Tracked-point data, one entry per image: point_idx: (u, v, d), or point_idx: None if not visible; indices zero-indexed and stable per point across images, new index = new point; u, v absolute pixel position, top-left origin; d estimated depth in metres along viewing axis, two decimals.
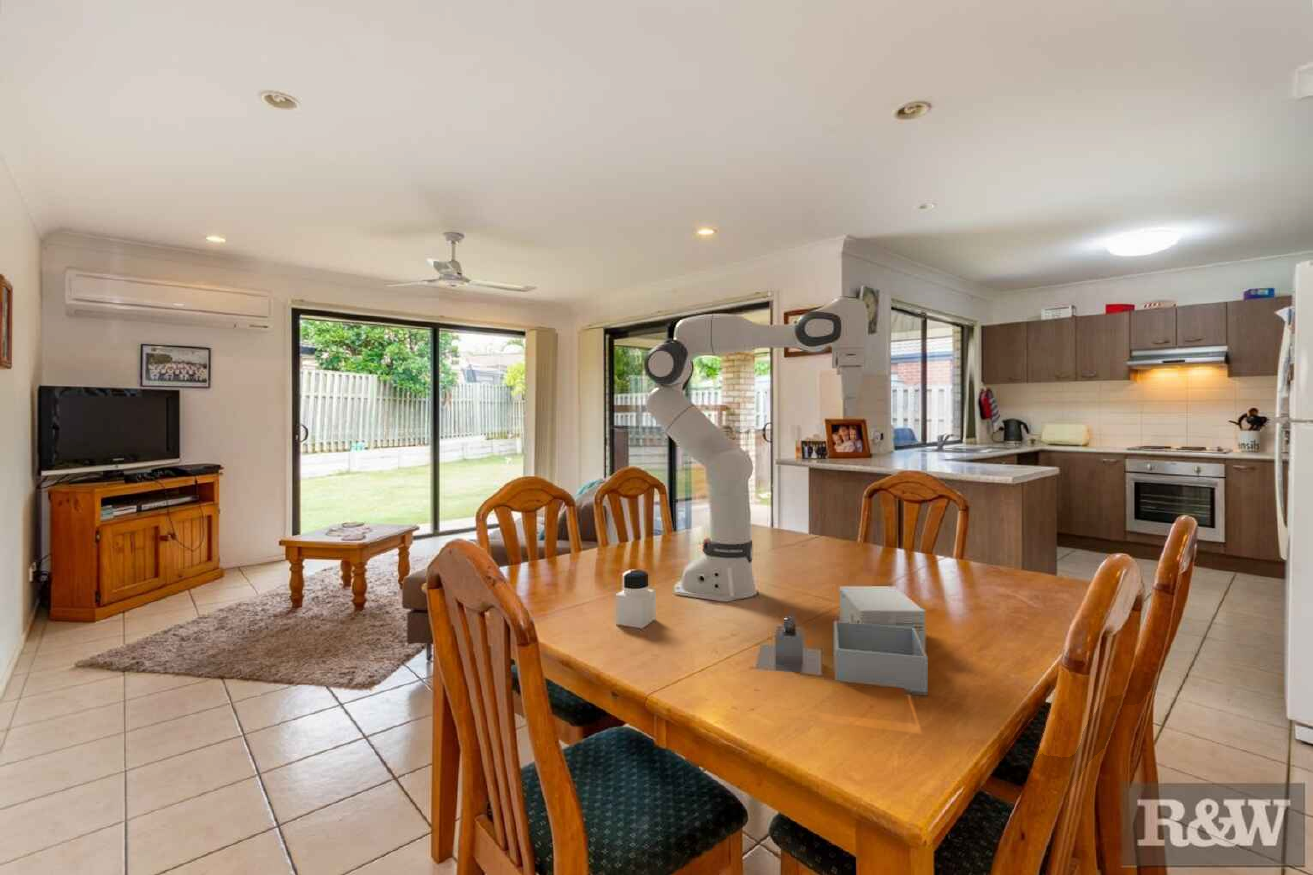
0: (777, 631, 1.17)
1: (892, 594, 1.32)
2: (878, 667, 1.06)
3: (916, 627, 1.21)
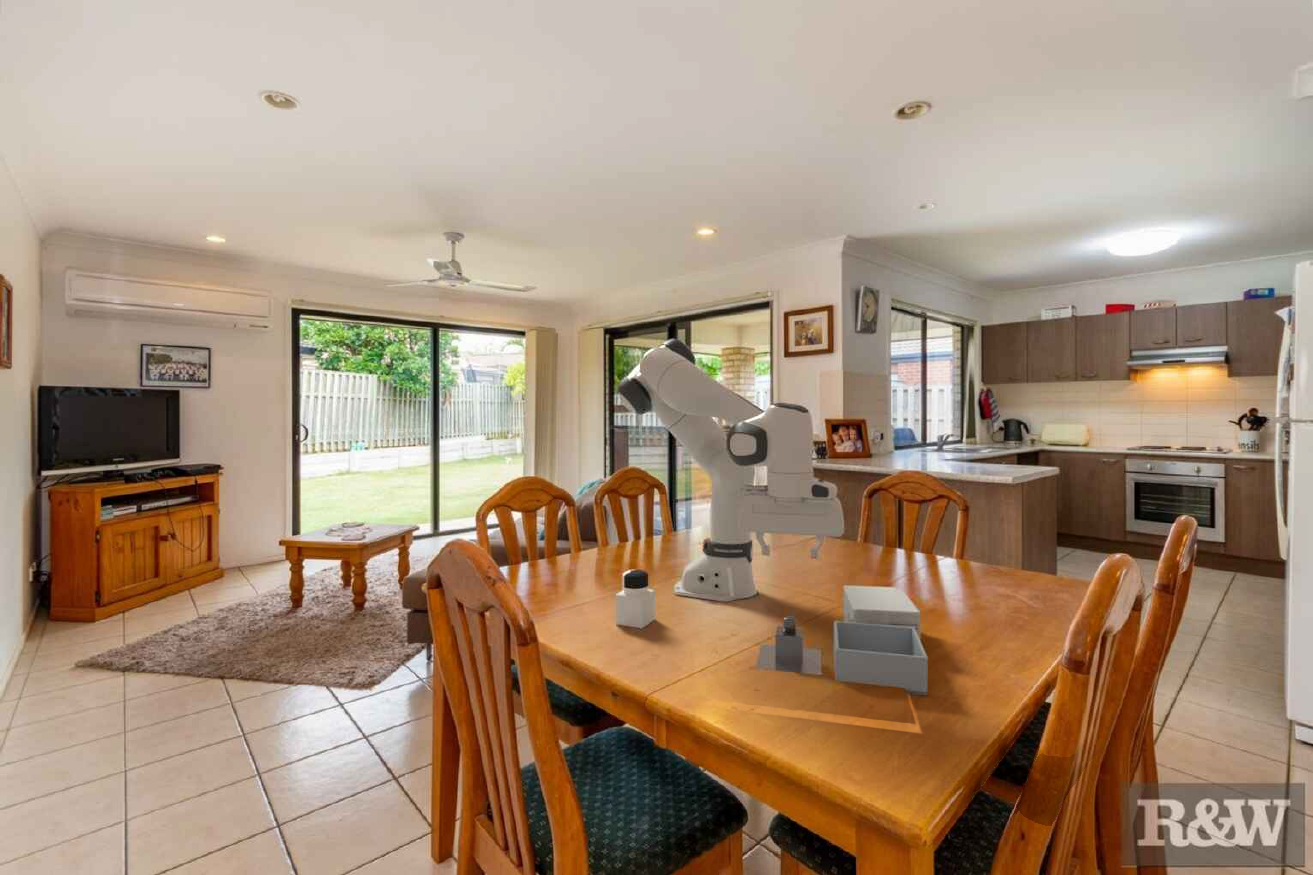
0: (777, 631, 1.17)
1: (893, 595, 1.31)
2: (878, 667, 1.06)
3: None
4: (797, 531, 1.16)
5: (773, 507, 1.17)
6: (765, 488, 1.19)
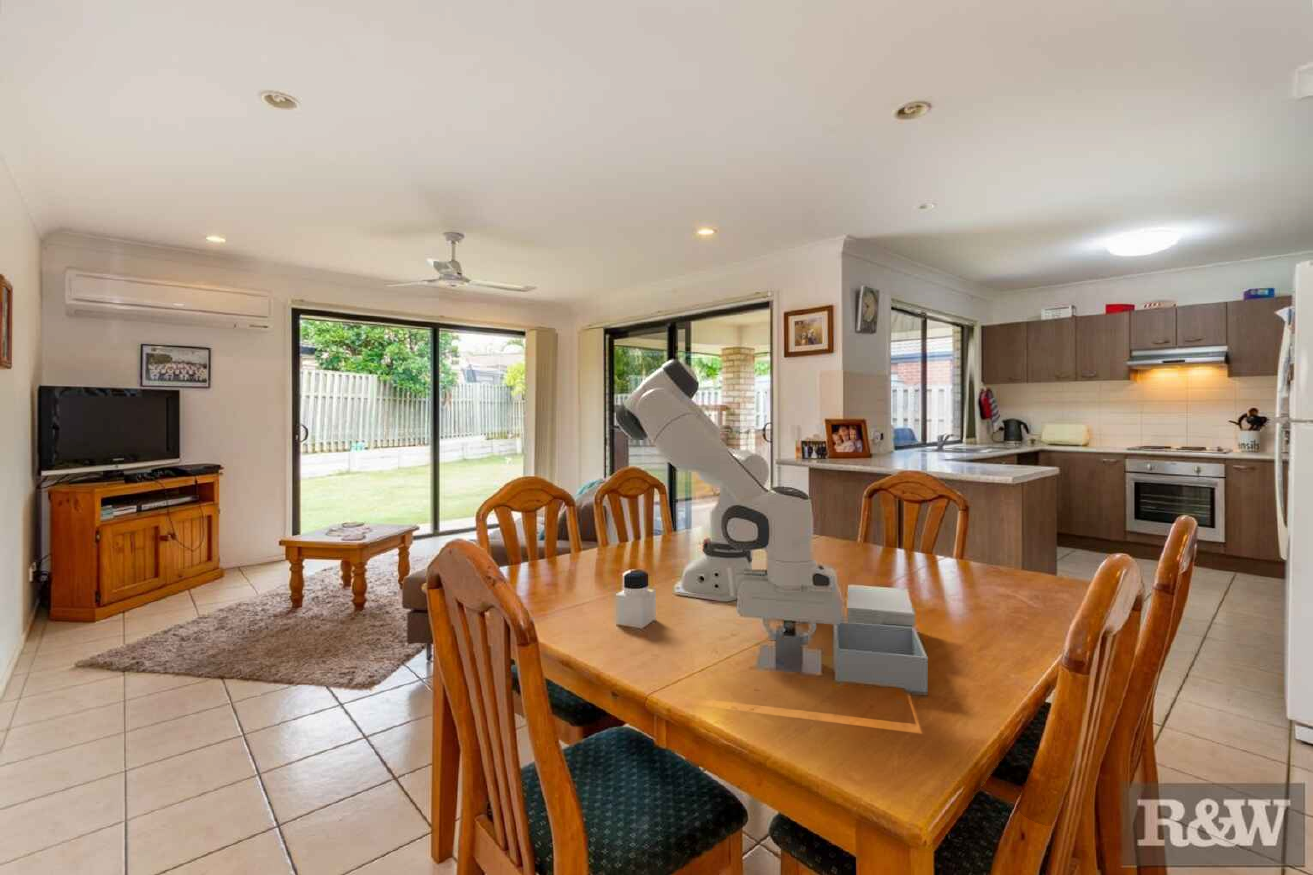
0: (777, 631, 1.17)
1: (895, 595, 1.30)
2: (878, 667, 1.06)
3: None
4: (797, 618, 1.15)
5: (773, 593, 1.16)
6: (764, 573, 1.17)
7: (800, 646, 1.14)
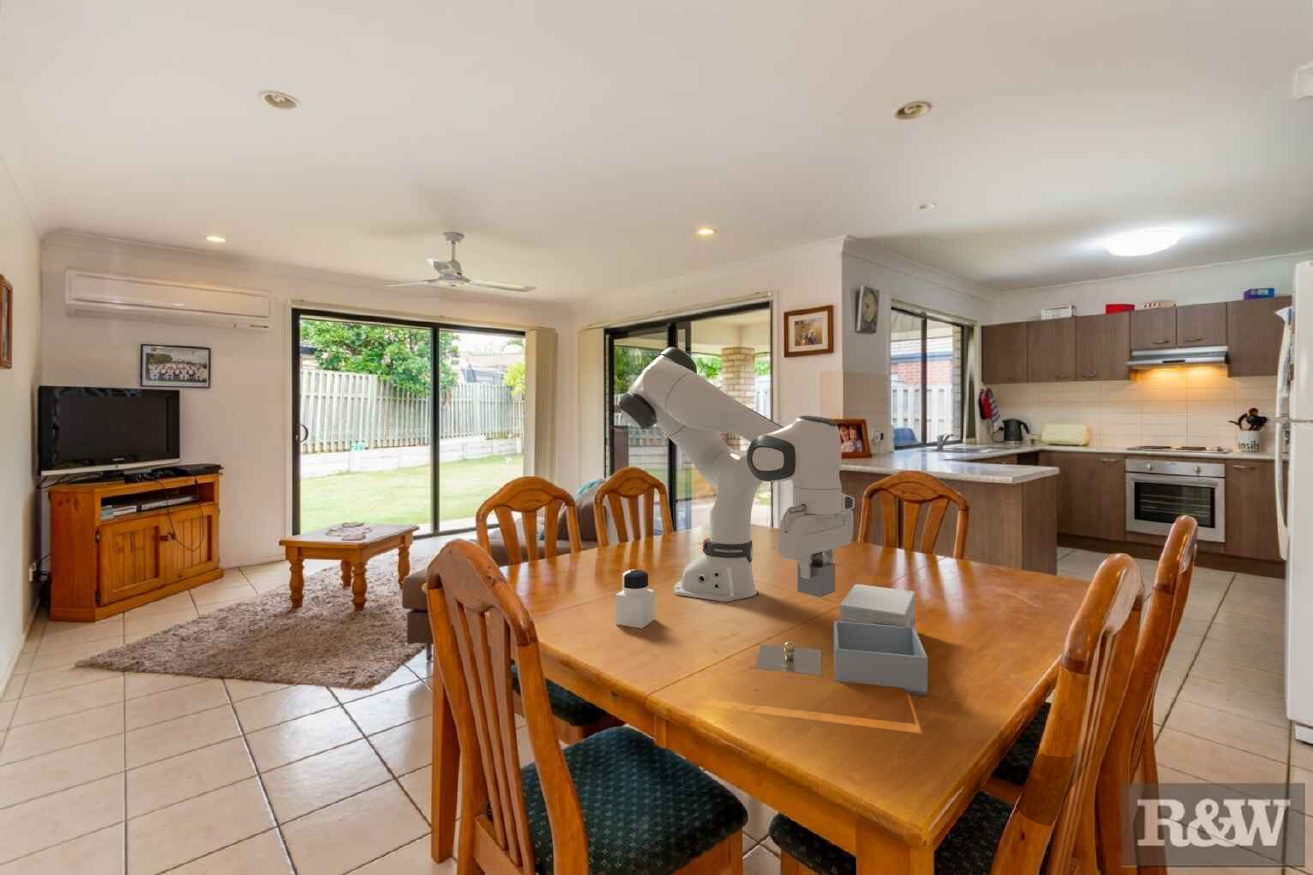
0: (812, 566, 1.12)
1: (896, 596, 1.30)
2: (878, 667, 1.06)
3: None
4: (829, 546, 1.14)
5: (815, 526, 1.11)
6: (804, 507, 1.10)
7: (834, 573, 1.14)
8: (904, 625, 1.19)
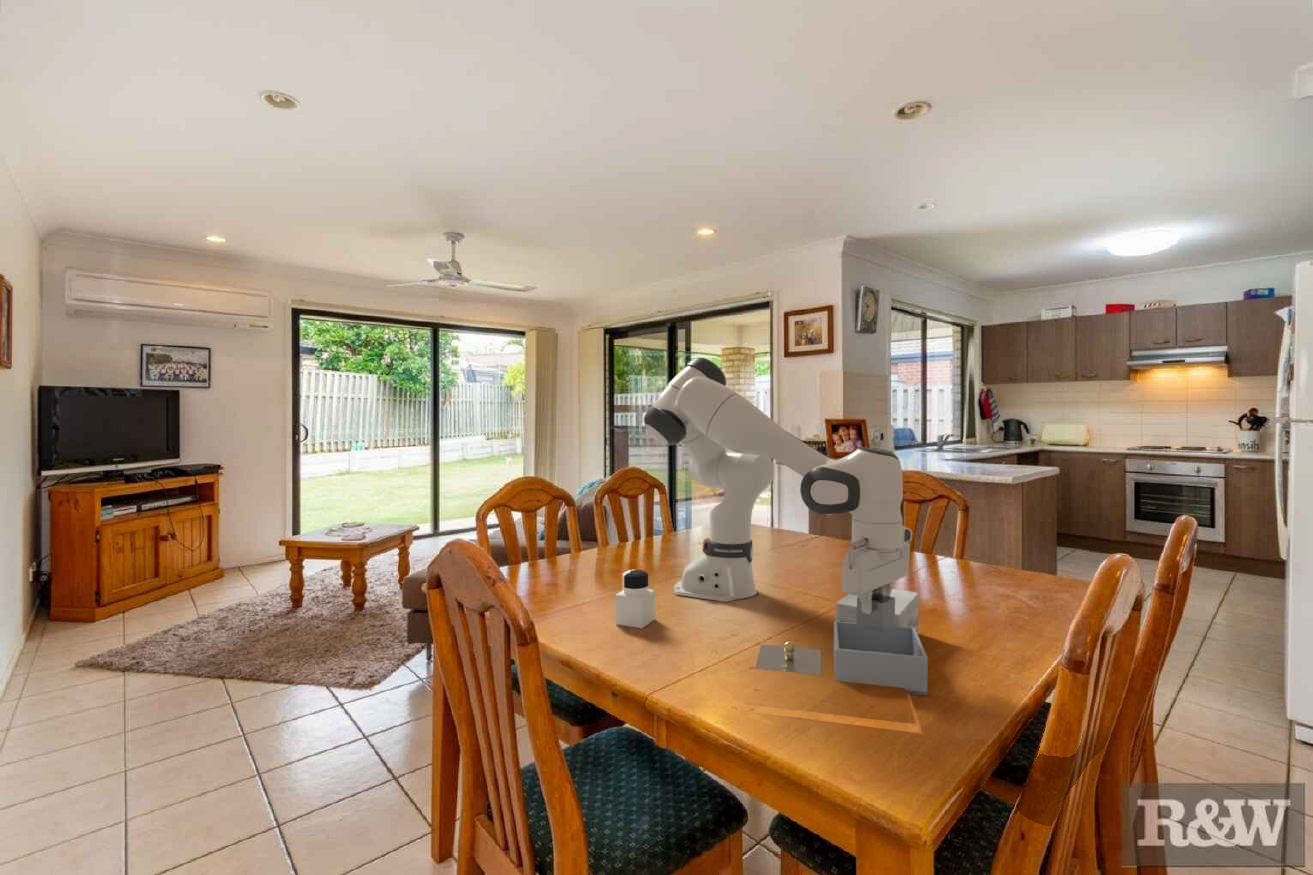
0: (873, 600, 1.10)
1: (897, 597, 1.29)
2: (878, 667, 1.06)
3: None
4: (889, 580, 1.12)
5: (877, 560, 1.09)
6: (867, 542, 1.08)
7: (894, 607, 1.12)
8: (898, 625, 1.19)
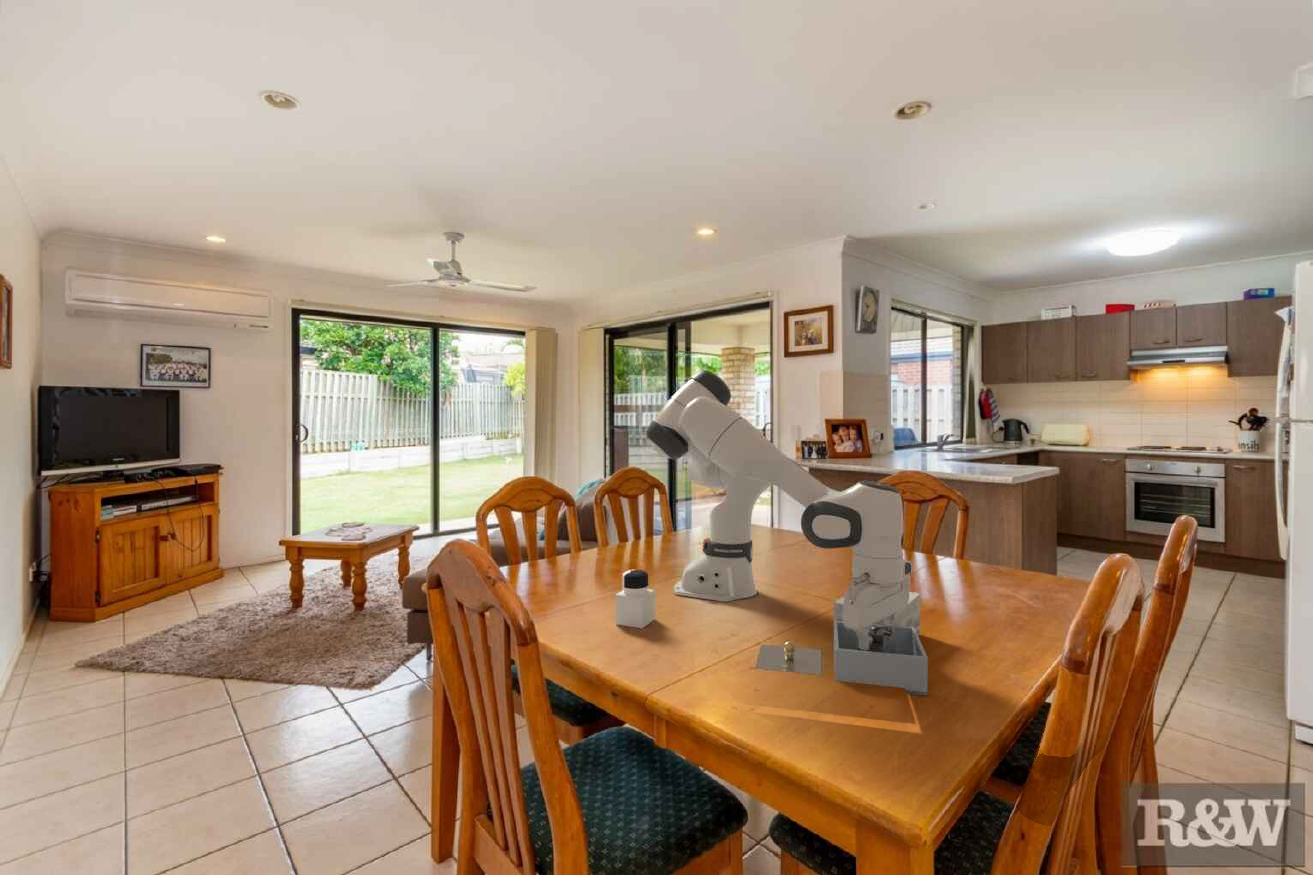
0: (874, 645, 1.11)
1: None
2: (878, 667, 1.06)
3: None
4: (890, 613, 1.13)
5: (877, 595, 1.09)
6: (868, 577, 1.09)
7: (894, 650, 1.13)
8: (895, 625, 1.19)
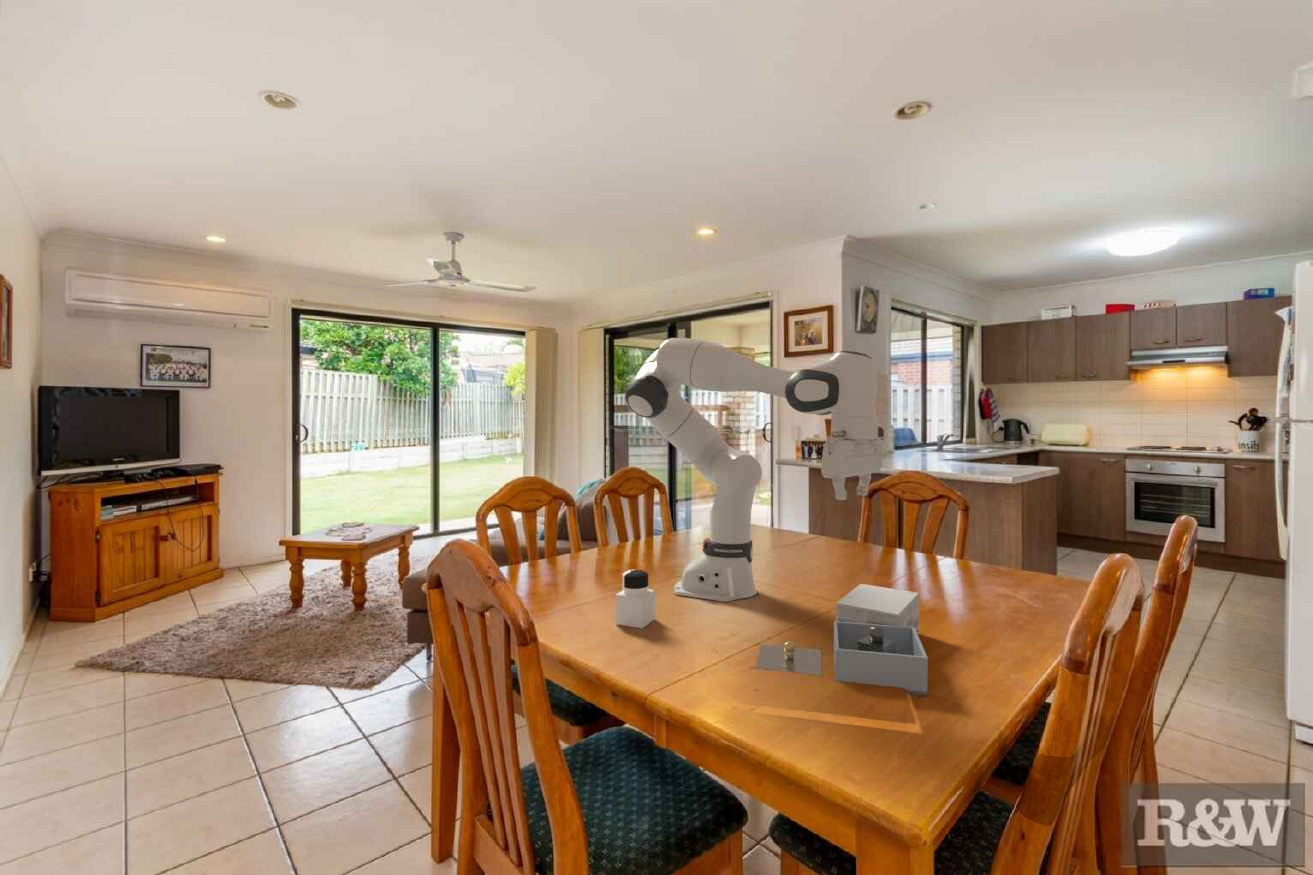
0: (874, 645, 1.11)
1: (897, 597, 1.29)
2: (878, 667, 1.06)
3: None
4: (864, 471, 1.24)
5: (853, 451, 1.21)
6: (844, 433, 1.20)
7: (894, 650, 1.13)
8: (898, 625, 1.19)
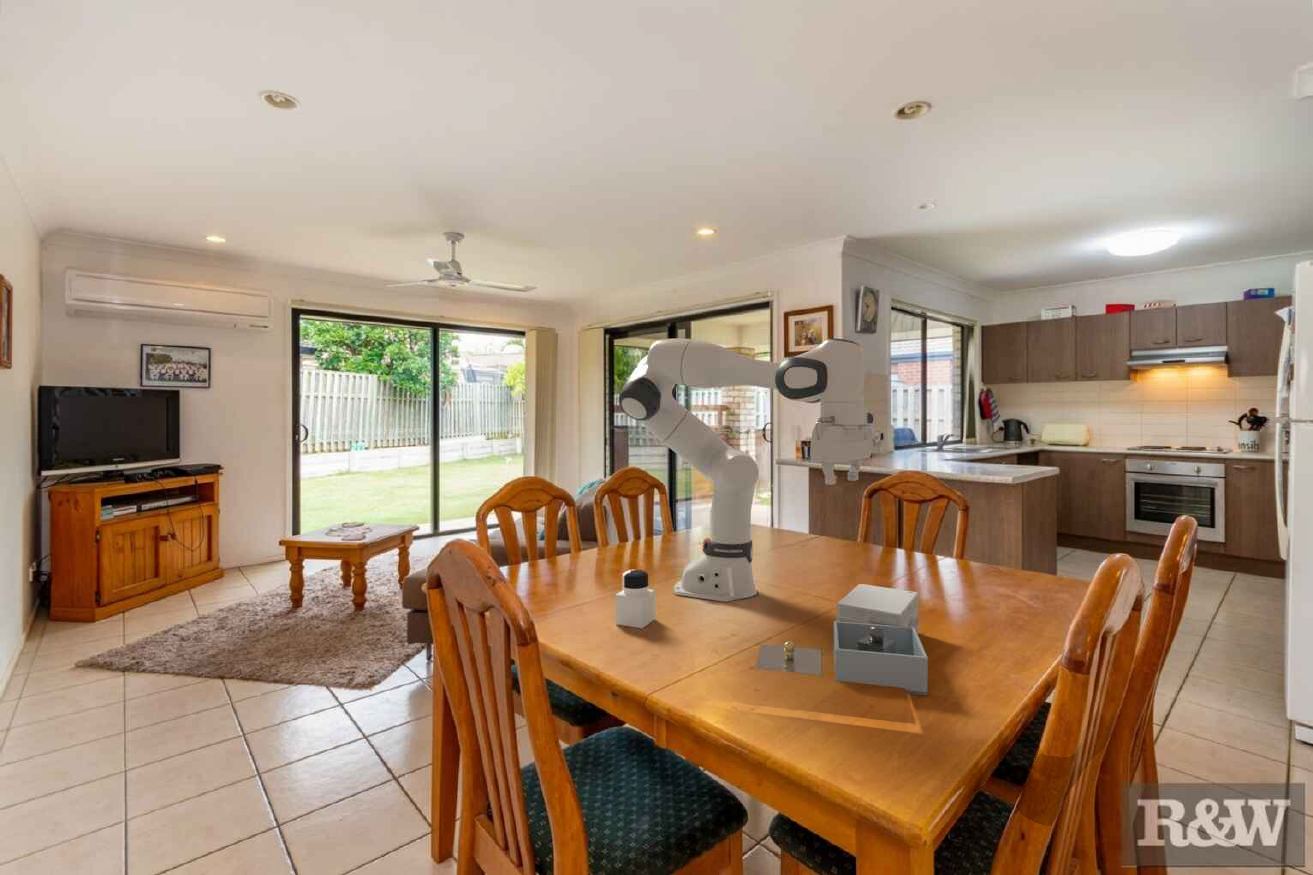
0: (874, 645, 1.11)
1: (897, 597, 1.29)
2: (878, 667, 1.06)
3: None
4: (853, 456, 1.26)
5: (842, 436, 1.23)
6: (833, 419, 1.23)
7: (894, 650, 1.13)
8: (900, 625, 1.19)
